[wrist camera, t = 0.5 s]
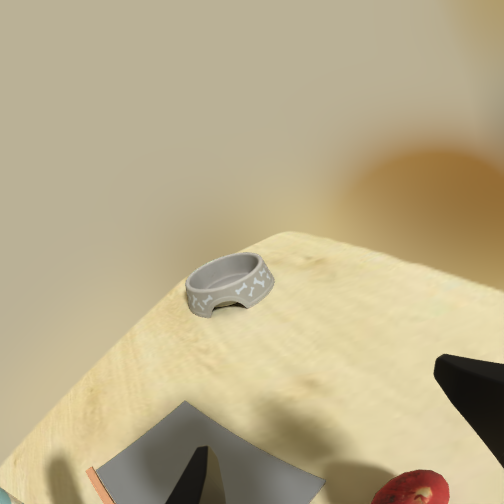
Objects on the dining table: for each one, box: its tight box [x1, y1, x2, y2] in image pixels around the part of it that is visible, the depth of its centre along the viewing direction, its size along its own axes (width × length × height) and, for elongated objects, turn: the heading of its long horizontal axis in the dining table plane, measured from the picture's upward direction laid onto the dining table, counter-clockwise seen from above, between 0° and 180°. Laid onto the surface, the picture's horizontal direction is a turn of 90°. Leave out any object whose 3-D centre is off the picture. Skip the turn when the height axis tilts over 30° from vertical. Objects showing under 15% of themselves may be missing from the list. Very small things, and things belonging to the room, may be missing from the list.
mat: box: [96, 401, 326, 504], centre depth 18 cm, size 16×20×1 cm
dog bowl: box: [185, 252, 274, 318], centre depth 54 cm, size 17×18×5 cm
